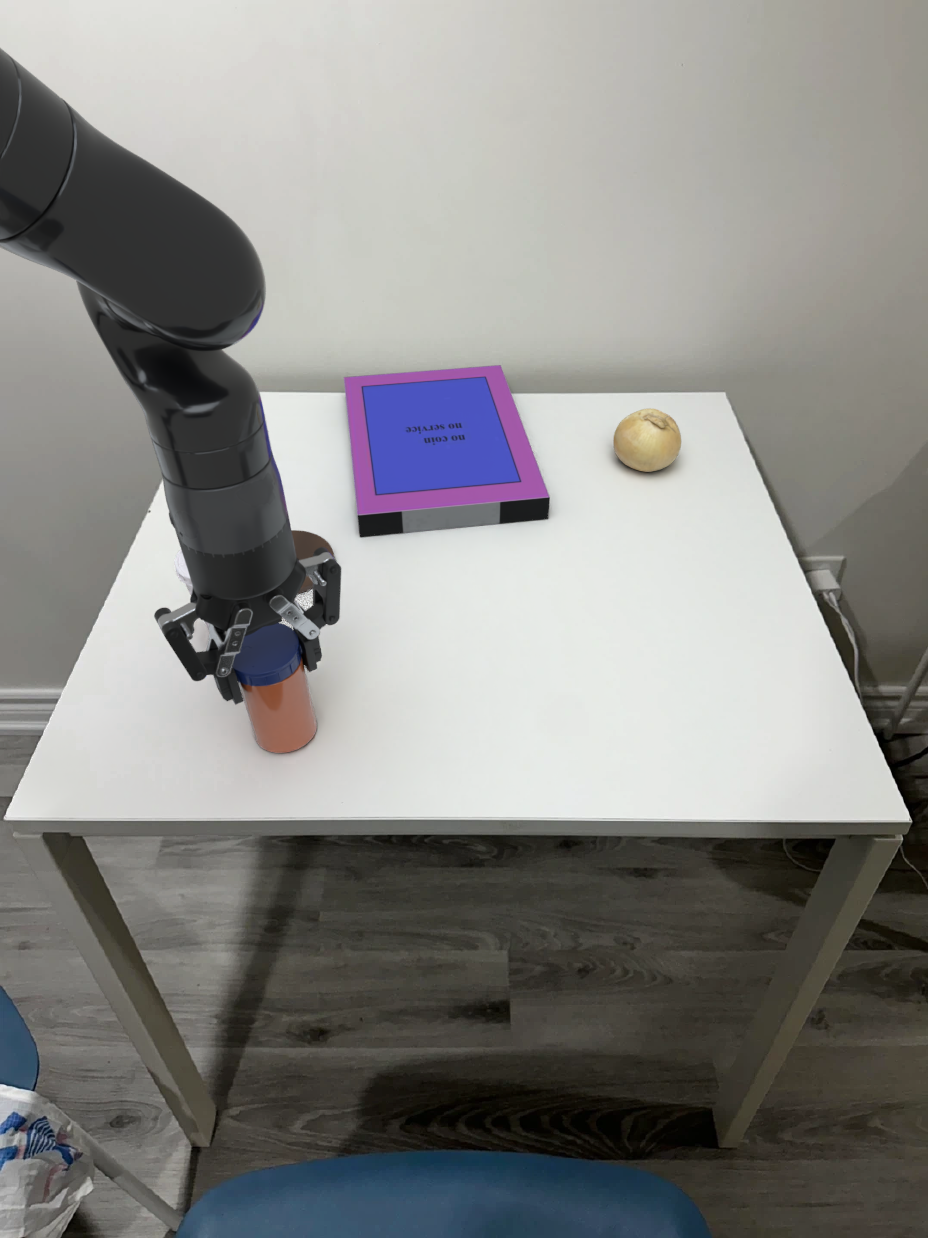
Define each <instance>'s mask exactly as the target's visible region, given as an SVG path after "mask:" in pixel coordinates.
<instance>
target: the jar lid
mask: <svg viewBox="0 0 928 1238" xmlns="http://www.w3.org/2000/svg"><path fill="white" fill-rule="evenodd" d="M301 653H302V648H301V644H299V639H298V637H297V635H296V634H295V632H294V631H293V628H292V627H290V626H288V625H287V624H284V623H282V622H279V623H277V624H274V625H270V626H265V627H262V628H260V629H259V630H257V631H256V632H254V633H252V634H250V635H247V636H245V637H244V641H243V644H242V648H241V651H240V653H239V654H236V657H235V660H234V664H233V667H232V668H233V669H234V671H235V673H236V676H237V680H238V682H241V683H243V684H246V685H250V686H267V685H272V684H275V683H278V682H281V681H282V680H284V679H286V678H287V677H289V676H290V675H291V674H293V672H294V671H295V670H296V669H297V667H298V666H299V664H300V663H301V662H300V661H301V655H302V654H301Z"/></svg>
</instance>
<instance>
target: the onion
mask: <svg viewBox="0 0 928 1238" xmlns="http://www.w3.org/2000/svg"><path fill="white" fill-rule="evenodd" d="M681 434H682V433H681V430H680V428H679V426H678V423H677V422H676V420H675V419H674V418H673V417H672V416H671V415H669V414H667V413H666V412H664V411H662V410H659V409H657V408H651V407H649V408H643V409H640V410H636V411H634V412H632V413H630V414H628V415H626V416H625V417H624V418H623V419H622V420H621V421H619V423H618V424H617V426H616V428H615V430H614V434H613V440H612V441H613V451H614V453H615V455H616V456H617V458H618V459H619V461H621V462H622V463H623V464H624V465H625V466H626V467H629V468H631V469H633V470H636V471H639V472H646V473H650V472H651V473H652V472H656V471H660V470H662V469H664V468H667V467H669V466H670V465H671V464H672V463H673V462H674V461H675V460H676V458H677V457H678V456H679V454H680V451H681V447H682V435H681Z"/></svg>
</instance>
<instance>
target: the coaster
mask: <svg viewBox="0 0 928 1238" xmlns="http://www.w3.org/2000/svg"><path fill="white" fill-rule="evenodd" d="M291 531H292V536H293V541H294V546H295V551H296V557H297V558H298V559H299V560H302V559H306V558H310V557H313V554H314V552H315V550H316V549H318V548H320V547H324V548H326V549H327V550H328V551H329V553H330V554H331V555H332V556H333V557H334V558H335V552H334V550H333V547H332V546H331V544H330V543H329V542H328V540H326V539H325V538H324V537H322V536H321V535H318V534H316V533H313V532H310V531H306V530H299V529H298V530H297V529H291ZM310 590H313V582H312V580H311V579H310V578H309V576H306V578H305V581H304V583H303V585H302V587H301V589H300V590H299V592H298V594H297V595H300V594H302V593H305V592H308V591H310Z"/></svg>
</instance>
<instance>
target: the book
mask: <svg viewBox="0 0 928 1238" xmlns="http://www.w3.org/2000/svg"><path fill="white" fill-rule="evenodd" d="M343 384H344V394H345V395H344V396H345V403H346V404H345V405H346V414H347V415H346V416H347V426H348V434H349V435H348V436H349V446H350V453H351V455H350V457H351V466H352V475H353V484H354V485H353V486H354V496H355V505H356V516H357V524H358V531H359V532H358V533H359V538H366V537H367V538H368V537H378V536H387V535H388V536H389V535H400V534H408V533H419V532H429V531H430V532H431V531H439V530H450V529H451V530H452V529H461V528H471V527H480V526H482V527H483V526H491V525H492V526H493V525H502V524H512V523H522V522H533V521H543V520H544V521H545V520H548V519H549V512H550V499H551V496H550V494H549V491H548V488H547V485H546V483H545V480H544V478H543V475H542V472H541V470H540V466H539V465H538V460H537V459H536V457H535V453H534V450H533V448H532V445H531V443H530V440H529V437H528V435H527V431H526V429H525V427H524V423H523V421H522V418H521V416H520V413H519V411H518V407H517V406H516V402H515V400H514V399H515V398H514V397H513V394H512V391H511V389H510V387H509V386H510V385H509V383H508V380H507V378H506V374H505V372H504V370H503V368H502V365H501V364H496V365H495V364H494V365H482V366H481V365H480V366H469V367H468V366H467V367H457V368H456V367H454V368H443V369H429V370H419V371H418V370H417V371H405V372H391V373H379V374H367V375H352V376H343Z"/></svg>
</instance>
